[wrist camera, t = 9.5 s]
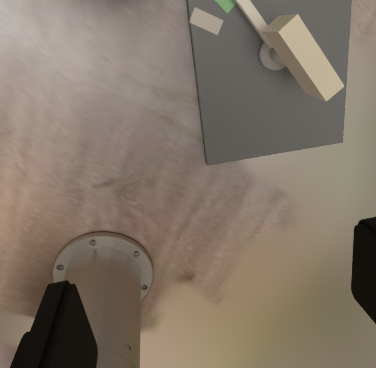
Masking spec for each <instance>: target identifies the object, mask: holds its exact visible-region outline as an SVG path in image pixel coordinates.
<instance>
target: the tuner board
mask: <svg viewBox="0 0 376 368" xmlns="http://www.w3.org/2000/svg"><path fill="white" fill-rule="evenodd" d="M186 1H187V9H188V18H189V26H190V34H191V43H192V51H193V59H194V67H195V76H196V84H197V92H198V101H199V109H200V117H201V126H202V134H203V142H204V150H205V159H206V163H207V165H212V164H218V163H224V162H230V161H236V160H242V159H248V158H253V157H259V156H265V155H271V154H277V153H282V152H289V151H295V150H301V149H306V148H312V147H318V146H324V145H330V144H336V143H342V142H343V129H344V113H345V97H346V81H347V64H348V49H349V34H350V18H351V2H352V0H250V1H251V2H252V4H253V5H254V7H255V8H256V9H257V11H258V12H259V14H260V15H261V17H262V18H263V19H264V21H265V22H266V24H267V25H269V24H270V23H271V22H272V21H273V20H274V19H275V18H277V17H278V16H280V15H291V14H298V15H299V16H300V18H301V20H302V21H303V23H304V24H305V26H306V27H307V29H308V30H309V32H310V33H311V35H312V37H313V38H314V40H315V41H316V43H317V44H318V46H319V47H320V49H321V50H322V52H323V53H324V55H325V57H326V58H327V60H328V61H329V63H330V64H331V66H332V67H333V69H334V70H335V72H336V74H337V75H338V77H339V78H340V80H341V81H342V83H343V84H344V87H343V88H342V89H341V90H340V91H338V92H337V93H336V94H335V95H334V96H333V97H331V98H330V99H329V100H328V101H327V102H326V101H324V100H321V99H319V98H316V97H314V96H311V95H309V94H306V93H305V92H304V90H303V89H302V87H301V86H300V85H299V83H298V82H297V80H296V79H295V78H294V76H293V75H292V73H291V72H290V71H289V69H288V68H287V66H286V67H284V68H283V69H281V70H270V69H267V68H265V67H264V66H263V65H262V64H261V63H260V61H259V57H258V52H259V48H260V45H261V44H262V42H263V40H262V38H261V37H260V35H259V34H258V33H257V31H256V30H255V28H254V27H253V26H252V24H251V23H250V22H249V20H248V19H247V17H246V16H245V15H244V13H243V12H242V10H241V9H240V8H239V6H238V5H237V3H236V2H235V1H234V0H186Z"/></svg>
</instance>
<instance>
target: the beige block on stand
mask: <svg viewBox="0 0 376 368" xmlns="http://www.w3.org/2000/svg"><path fill="white" fill-rule="evenodd" d="M234 1H235V2H236V3H237V5H238V6H239V8H240V9H241V10H242V12H243V13H244V15H245V16H246V17H247V19H248V20H249V22H250V23H251V24H252V26H253V27H254V28H255V30H256V31H257V33H258V34H259V35H260V37H261V38H262V40H263V42H262V44H261V45H260V48H259V52H258V57H259V61H260V63H261V64H262V65H263V66H264V67H265V68H267V69H270V70H281V69H283V68H284V67H286V66H287V68H288V69H289V71H290V72H291V73H292V75H293V76H294V78H295V79H296V80H297V82H298V83H299V85H300V86H301V87H302V89H303V90H304V92H305V93H306V94H309V95H311V96H314V97H316V98H319V99H321V100H324V101H326V102H327V101H328V100H329V99H330V98H331V97H333V96H334V95H335V94H336V93H337V92H338V91H340V90H341V89H342V88H343V87H344V84H343V83H342V81H341V80H340V78H339V77H338V75H337V74H336V72H335V70H334V69H333V67H332V66H331V64H330V63H329V61H328V60H327V58H326V57H325V55H324V53H323V52H322V50H321V49H320V47H319V46H318V44H317V43H316V41H315V40H314V38H313V37H312V35H311V33H310V32H309V30H308V29H307V27H306V26H305V24H304V23H303V21H302V20H301V18H300V16H299V15H298V14H291V15H280V16H278V17H277V18H275V19H274V20H273V21H272V22H271V23H270V24H269V25H267V24H266V22H265V21H264V19H263V18H262V17H261V15H260V14H259V12H258V11H257V9H256V8H255V7H254V5H253V4H252V2H251V1H250V0H234Z"/></svg>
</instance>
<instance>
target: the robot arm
mask: <svg viewBox="0 0 376 368" xmlns="http://www.w3.org/2000/svg"><path fill="white" fill-rule="evenodd" d="M353 242H354V243H353V262H352V282H351V290H352V294H353V296H354V298H355V300H356V301H357V302H358V303H359V304H360V306H361V307H362V308H363V309H364V310H365V311H366V313H367V314H368V315H369V316H370V318H371V319H372V320H373V321H374V322H375V323H376V217H373V218H368V219H363V220H360V221H359V223H358V225H356V226H355V228H354V241H353ZM52 276H53V283H51V284H48V286H47V288H46V291H45V294H44V296H43V299H42V301H41V304H40V307H39V309H38V312H37V314H36V317H35V320H34V322H33V325H32V328H31V330H30V332H26V333H25V334H24V335H23V337H22V339H21V341H20V344H19V346H18V349H17V351H16V354H15V356H14V359H13V361H12V364H11V366H10V368H140V313H141V300H142V299H143V298H144V297H145V296H146V294H147V293H148V291H149V290H150V287H151V285H152V280H153V267H152V263H151V260H150V258H149V256H148V254H147V252H146V251H145V250H144V249H143V247H141V246H140V245H139V244H138V243H137V242H135V241H133V240H132V239H130V238H128V237H125V236H123V235H120V234H115V233H110V232H97V233H90V234H87V235H83V236H80V237H78V238H76V239H74V240H72V241H71V242H70V243H69V244H67V245H66V246H65V247H64V248H63V249H62V250H61V252H60V253H59V255H58V257H57V259H56V261H55V264H54V267H53V274H52Z"/></svg>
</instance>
